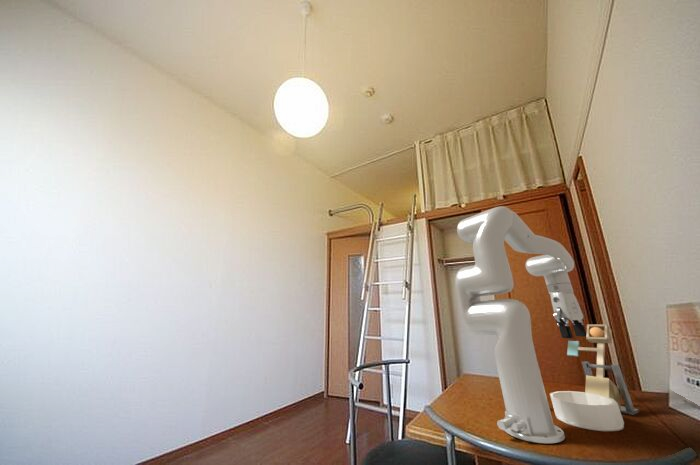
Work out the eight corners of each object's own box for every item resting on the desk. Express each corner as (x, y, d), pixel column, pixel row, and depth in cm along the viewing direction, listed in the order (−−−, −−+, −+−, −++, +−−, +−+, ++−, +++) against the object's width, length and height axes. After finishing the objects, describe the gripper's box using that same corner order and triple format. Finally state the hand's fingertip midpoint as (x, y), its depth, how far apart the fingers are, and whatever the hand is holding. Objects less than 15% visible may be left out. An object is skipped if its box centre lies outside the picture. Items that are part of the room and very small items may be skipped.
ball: (603, 339, 80) (599, 327, 81) (589, 338, 83) (586, 327, 84) (608, 338, 82) (604, 326, 83) (594, 338, 85) (591, 326, 86)
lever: (621, 410, 71) (607, 395, 70) (571, 399, 80) (559, 387, 80) (619, 337, 83) (607, 324, 82) (576, 336, 93) (565, 324, 92)
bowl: (610, 436, 58) (601, 409, 60) (545, 418, 70) (540, 396, 72) (633, 423, 64) (625, 399, 66) (570, 408, 76) (565, 388, 78)
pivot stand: (633, 415, 69) (616, 366, 73) (591, 406, 77) (577, 362, 81) (639, 411, 71) (622, 364, 75) (597, 403, 79) (584, 360, 83)
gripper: (559, 287, 90) (575, 339, 85) (582, 288, 98) (599, 335, 92) (536, 290, 96) (550, 338, 91) (560, 290, 104) (574, 335, 99)
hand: (574, 337), depth 92 cm, fingers open, 9 cm apart
